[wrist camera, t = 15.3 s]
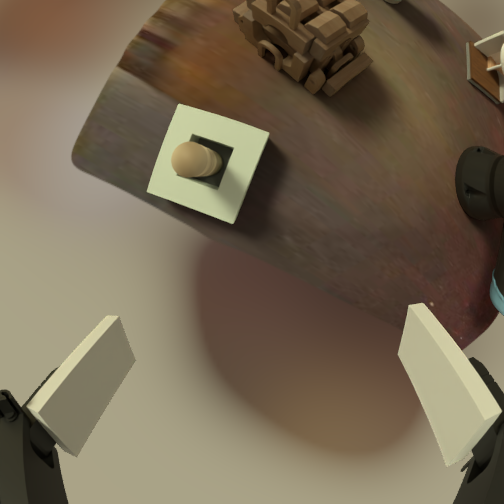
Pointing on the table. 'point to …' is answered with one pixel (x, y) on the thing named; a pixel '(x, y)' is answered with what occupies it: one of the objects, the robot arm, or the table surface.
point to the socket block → (221, 132)
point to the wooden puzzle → (309, 38)
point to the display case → (487, 66)
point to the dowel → (195, 160)
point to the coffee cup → (393, 1)
